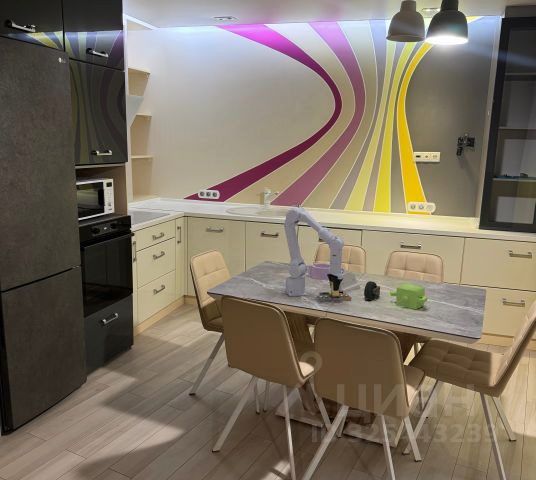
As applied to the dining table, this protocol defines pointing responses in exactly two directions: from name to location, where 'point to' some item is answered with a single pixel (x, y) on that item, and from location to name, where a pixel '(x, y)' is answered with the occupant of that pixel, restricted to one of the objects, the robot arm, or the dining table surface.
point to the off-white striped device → (348, 283)
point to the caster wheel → (371, 290)
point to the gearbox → (410, 296)
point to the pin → (333, 293)
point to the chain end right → (342, 297)
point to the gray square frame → (324, 293)
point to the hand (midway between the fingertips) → (334, 289)
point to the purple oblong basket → (320, 271)
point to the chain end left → (327, 298)
